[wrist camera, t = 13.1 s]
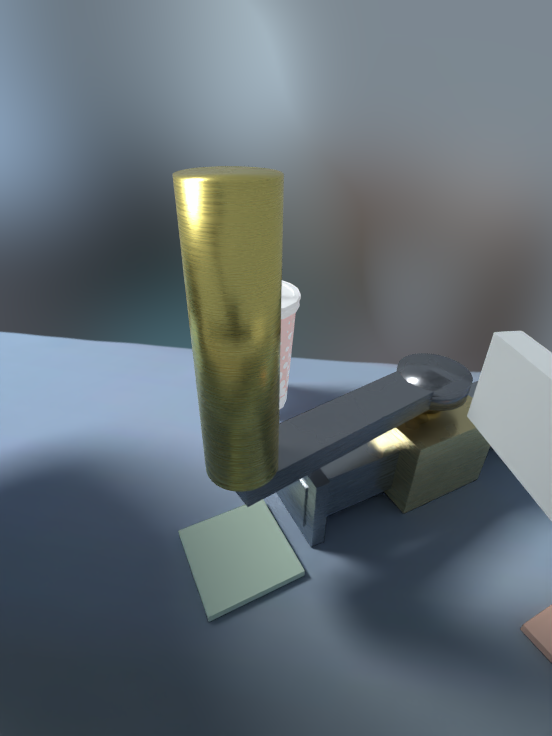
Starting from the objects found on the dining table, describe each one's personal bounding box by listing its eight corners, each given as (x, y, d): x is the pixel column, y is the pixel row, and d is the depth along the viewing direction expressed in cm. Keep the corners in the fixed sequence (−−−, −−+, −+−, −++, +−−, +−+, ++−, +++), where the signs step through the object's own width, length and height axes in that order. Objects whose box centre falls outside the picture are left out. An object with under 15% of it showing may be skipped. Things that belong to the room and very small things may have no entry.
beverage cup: (307, 414, 32) (319, 225, 24) (227, 430, 30) (214, 232, 22) (282, 372, 37) (285, 203, 29) (212, 383, 35) (197, 208, 27)
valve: (314, 555, 22) (322, 478, 19) (268, 481, 26) (268, 408, 23) (539, 449, 29) (572, 380, 25) (474, 404, 33) (495, 340, 30)
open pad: (208, 621, 19) (208, 617, 19) (178, 535, 23) (178, 530, 22) (304, 575, 21) (304, 570, 21) (262, 502, 25) (262, 498, 24)
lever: (424, 363, 26) (476, 145, 20) (481, 394, 24) (564, 153, 17) (191, 468, 19) (149, 168, 12) (236, 533, 16) (214, 189, 9)
